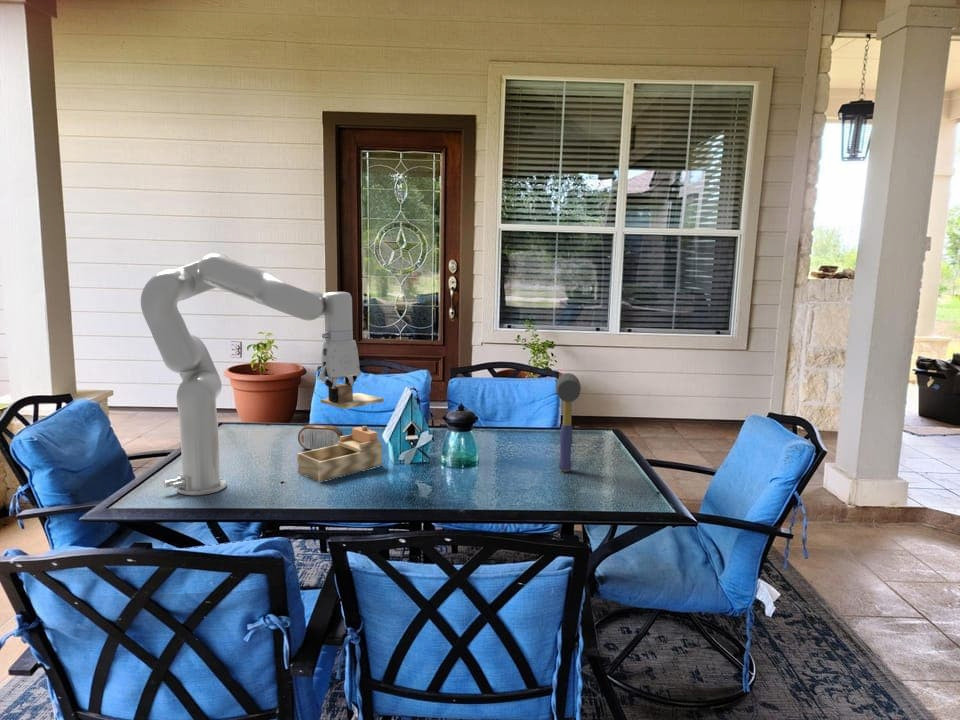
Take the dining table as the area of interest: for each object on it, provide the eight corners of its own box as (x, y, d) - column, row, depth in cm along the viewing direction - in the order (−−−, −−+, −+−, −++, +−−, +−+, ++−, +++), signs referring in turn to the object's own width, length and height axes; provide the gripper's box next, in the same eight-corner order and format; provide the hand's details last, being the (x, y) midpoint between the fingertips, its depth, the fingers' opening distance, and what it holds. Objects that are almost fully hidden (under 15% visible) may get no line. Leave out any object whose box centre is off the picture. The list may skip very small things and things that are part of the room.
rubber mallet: (577, 478, 196) (582, 379, 191) (552, 476, 197) (556, 378, 192) (576, 465, 208) (580, 372, 204) (552, 464, 209) (556, 371, 205)
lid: (345, 409, 180) (344, 389, 179) (320, 402, 188) (320, 384, 187) (383, 401, 190) (383, 382, 189) (359, 395, 198) (358, 377, 197)
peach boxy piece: (369, 445, 200) (369, 430, 200) (352, 439, 206) (352, 424, 206) (377, 443, 202) (377, 428, 202) (360, 437, 209) (360, 423, 208)
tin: (343, 449, 220) (343, 425, 219) (341, 452, 217) (340, 427, 216) (300, 447, 221) (299, 423, 220) (296, 450, 218) (296, 425, 217)
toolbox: (319, 482, 187) (319, 454, 186) (297, 472, 195) (297, 445, 194) (381, 466, 203) (381, 439, 202) (358, 458, 211) (358, 432, 210)
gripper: (321, 340, 174) (323, 407, 177) (371, 335, 187) (372, 398, 189) (305, 337, 179) (307, 403, 182) (355, 332, 192) (356, 394, 194)
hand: (340, 399), depth 186 cm, fingers closed on lid, 4 cm apart
